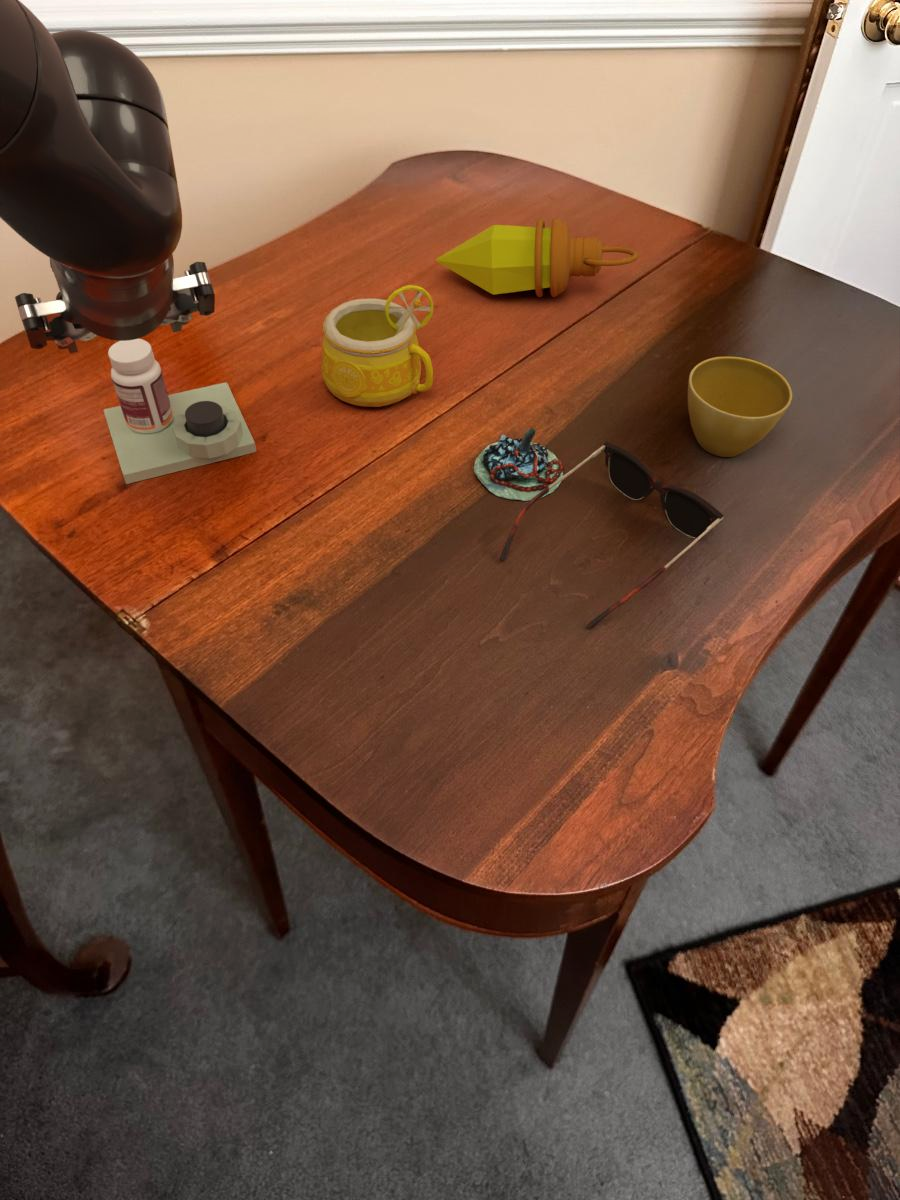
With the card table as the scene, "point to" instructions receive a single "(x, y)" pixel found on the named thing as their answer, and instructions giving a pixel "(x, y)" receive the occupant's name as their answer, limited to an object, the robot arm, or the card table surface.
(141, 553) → the card table surface
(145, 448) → the scale
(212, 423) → the button
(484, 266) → the plumb bob
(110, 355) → the pill bottle
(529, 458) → the dish
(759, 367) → the flower pot
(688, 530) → the sunglasses
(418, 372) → the mug
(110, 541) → the card table surface
